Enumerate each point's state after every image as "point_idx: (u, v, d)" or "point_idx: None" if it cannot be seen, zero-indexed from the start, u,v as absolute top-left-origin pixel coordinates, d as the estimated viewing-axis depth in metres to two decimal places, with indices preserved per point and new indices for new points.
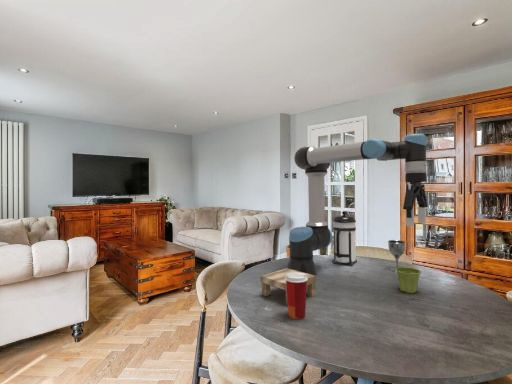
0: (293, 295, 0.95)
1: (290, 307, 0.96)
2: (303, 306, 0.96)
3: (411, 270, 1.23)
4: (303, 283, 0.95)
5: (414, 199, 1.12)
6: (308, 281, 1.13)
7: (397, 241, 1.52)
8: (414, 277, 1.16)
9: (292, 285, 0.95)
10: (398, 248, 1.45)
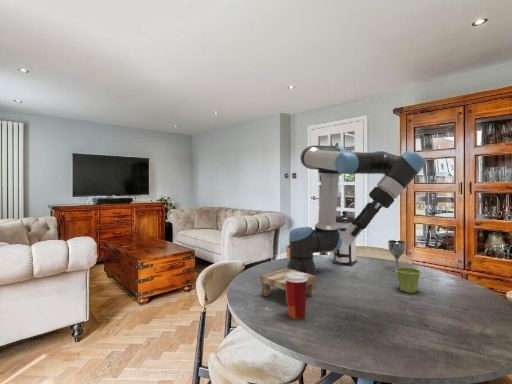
0: (293, 295, 0.95)
1: (290, 307, 0.96)
2: (303, 306, 0.96)
3: (411, 270, 1.23)
4: (303, 283, 0.95)
5: None
6: (308, 281, 1.13)
7: (397, 241, 1.52)
8: (414, 277, 1.16)
9: (292, 285, 0.95)
10: (398, 248, 1.45)
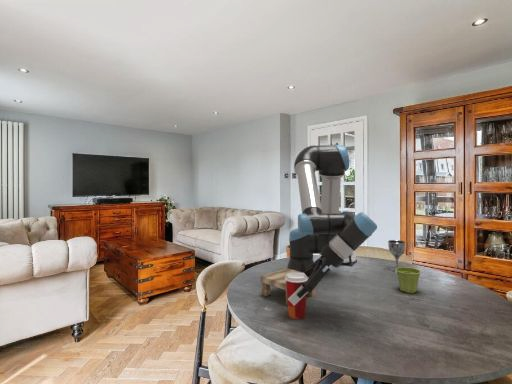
0: None
1: (290, 307, 0.96)
2: (303, 306, 0.96)
3: (411, 270, 1.23)
4: None
5: None
6: None
7: (397, 241, 1.52)
8: (414, 277, 1.16)
9: (292, 285, 0.95)
10: (398, 248, 1.45)
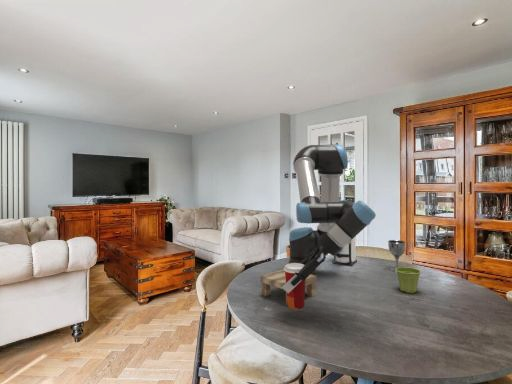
0: None
1: (289, 298, 0.96)
2: (302, 296, 0.96)
3: (411, 270, 1.23)
4: None
5: None
6: (308, 281, 1.13)
7: (397, 241, 1.52)
8: (414, 276, 1.16)
9: (291, 276, 0.95)
10: (398, 248, 1.45)
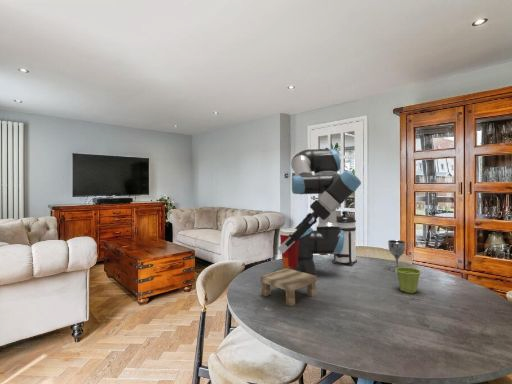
0: None
1: (284, 258, 1.07)
2: (295, 257, 1.07)
3: (411, 270, 1.23)
4: None
5: None
6: (308, 281, 1.13)
7: (397, 241, 1.52)
8: (414, 276, 1.16)
9: (285, 238, 1.06)
10: (398, 248, 1.45)
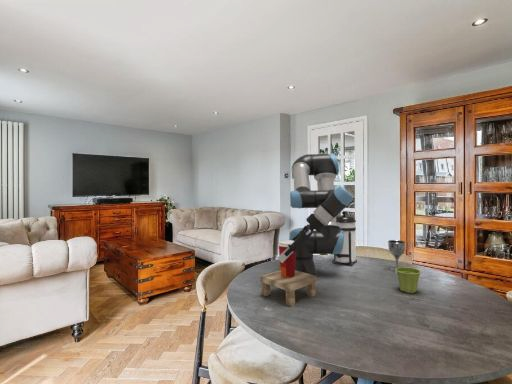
0: None
1: (282, 268, 1.15)
2: (293, 267, 1.14)
3: (411, 270, 1.23)
4: None
5: None
6: (308, 281, 1.13)
7: (397, 241, 1.52)
8: (414, 276, 1.16)
9: (283, 249, 1.14)
10: (398, 248, 1.45)
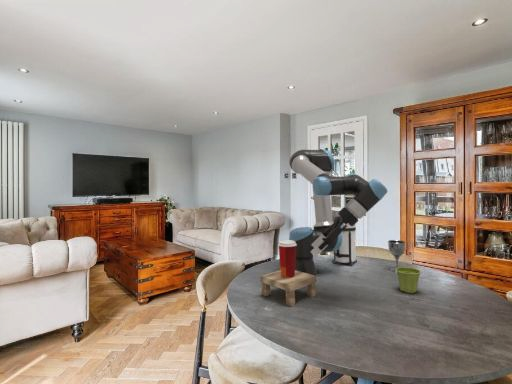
0: (284, 257, 1.14)
1: (282, 268, 1.15)
2: (293, 267, 1.15)
3: (411, 270, 1.23)
4: (293, 247, 1.14)
5: None
6: (308, 281, 1.13)
7: (397, 241, 1.52)
8: (414, 276, 1.16)
9: (283, 249, 1.14)
10: (398, 248, 1.45)
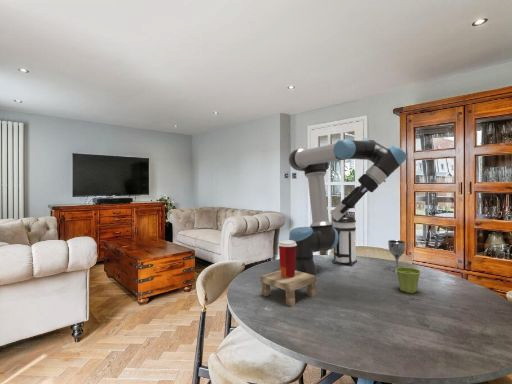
0: (284, 257, 1.14)
1: (282, 268, 1.15)
2: (293, 267, 1.14)
3: (411, 270, 1.23)
4: (293, 247, 1.14)
5: None
6: (308, 281, 1.13)
7: (397, 241, 1.52)
8: (414, 277, 1.16)
9: (283, 249, 1.14)
10: (398, 248, 1.45)
